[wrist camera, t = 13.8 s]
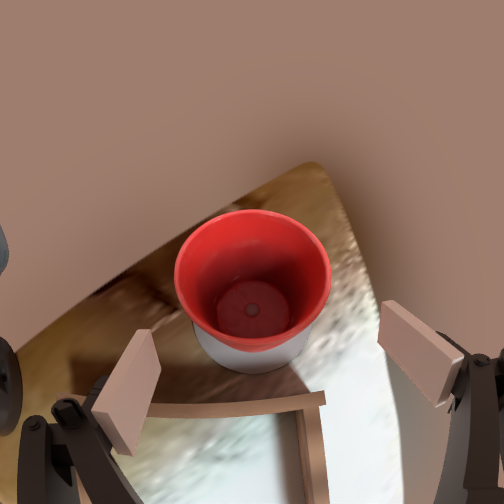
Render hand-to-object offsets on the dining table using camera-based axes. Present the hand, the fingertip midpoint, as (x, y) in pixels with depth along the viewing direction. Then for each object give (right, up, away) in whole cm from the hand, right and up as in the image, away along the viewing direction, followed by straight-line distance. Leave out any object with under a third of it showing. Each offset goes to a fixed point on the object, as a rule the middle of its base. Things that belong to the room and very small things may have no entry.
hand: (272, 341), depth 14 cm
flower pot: (-1, -2, +13) cm, 13 cm away
